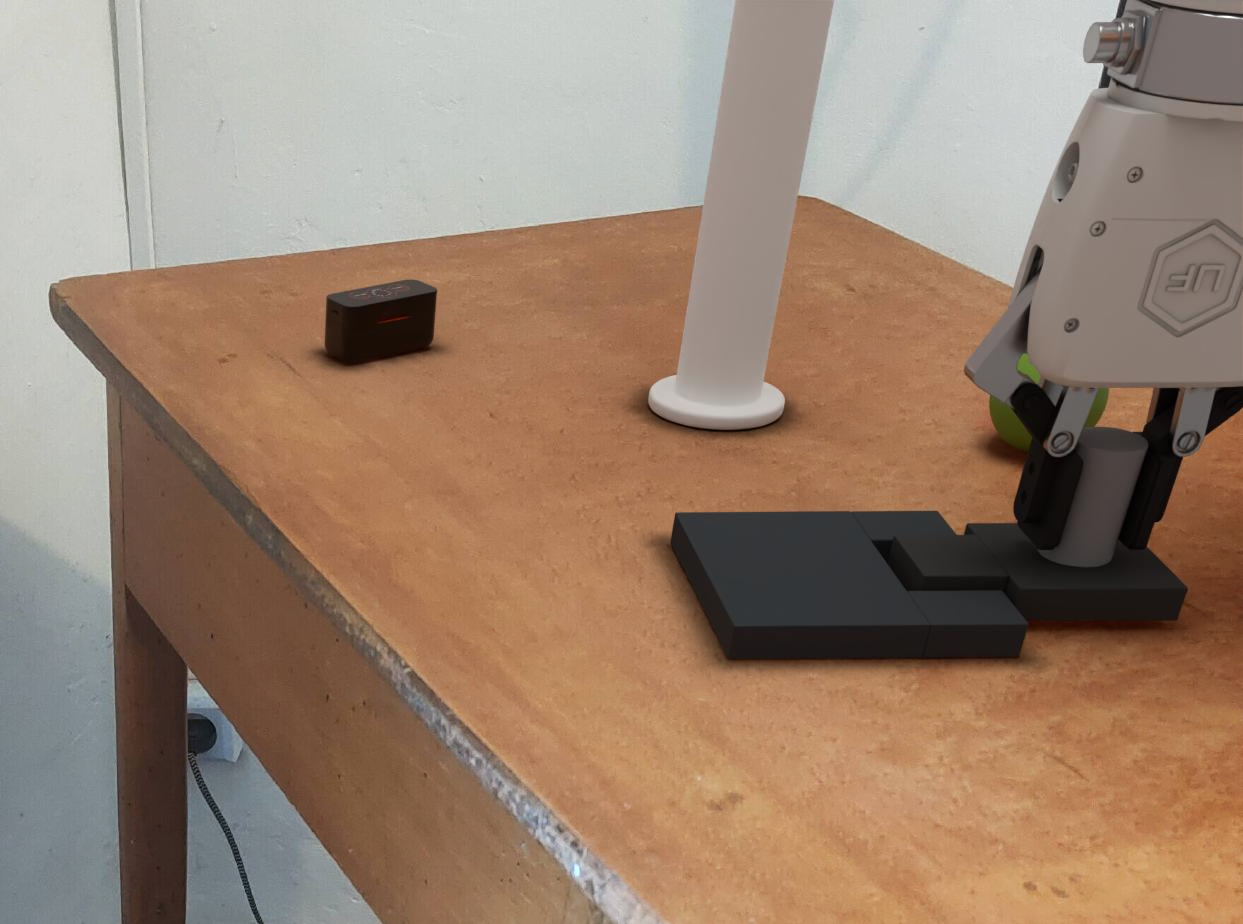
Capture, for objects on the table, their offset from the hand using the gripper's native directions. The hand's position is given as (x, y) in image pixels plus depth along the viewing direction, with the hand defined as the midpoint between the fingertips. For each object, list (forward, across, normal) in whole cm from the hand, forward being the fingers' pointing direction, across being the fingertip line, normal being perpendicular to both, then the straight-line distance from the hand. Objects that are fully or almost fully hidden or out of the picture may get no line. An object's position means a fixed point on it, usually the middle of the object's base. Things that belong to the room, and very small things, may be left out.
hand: (1080, 533), depth 81 cm
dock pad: (+3, -10, 0) cm, 10 cm away
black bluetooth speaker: (+3, -27, +35) cm, 44 cm away
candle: (+3, -10, +24) cm, 26 cm away
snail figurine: (+3, +5, +17) cm, 18 cm away
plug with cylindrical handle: (+2, -2, 0) cm, 3 cm away
